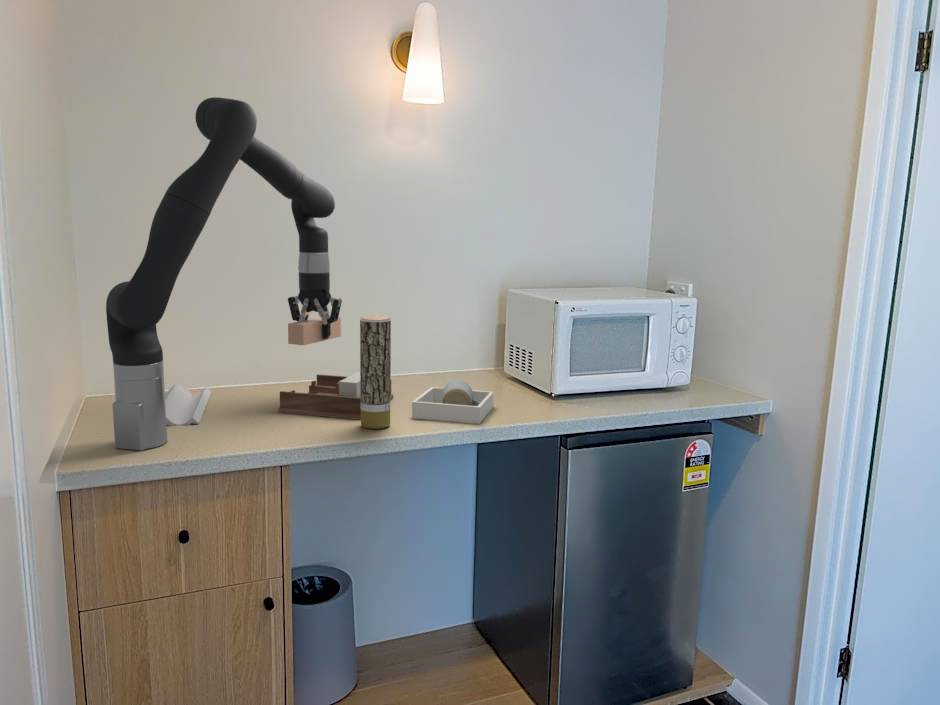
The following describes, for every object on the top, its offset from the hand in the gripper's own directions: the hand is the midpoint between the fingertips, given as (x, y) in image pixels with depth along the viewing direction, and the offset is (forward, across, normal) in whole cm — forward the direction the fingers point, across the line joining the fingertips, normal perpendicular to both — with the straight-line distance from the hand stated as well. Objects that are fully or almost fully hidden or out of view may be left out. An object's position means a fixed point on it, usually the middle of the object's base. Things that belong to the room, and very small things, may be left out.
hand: (315, 338), depth 182 cm
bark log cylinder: (+17, -22, +15) cm, 32 cm away
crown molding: (+18, +29, +15) cm, 37 cm away
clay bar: (0, 0, 0) cm, 0 cm away
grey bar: (+14, -12, 0) cm, 18 cm away
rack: (+17, -6, 0) cm, 18 cm away
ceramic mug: (+17, -38, -3) cm, 42 cm away
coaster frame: (+17, -36, -2) cm, 40 cm away
